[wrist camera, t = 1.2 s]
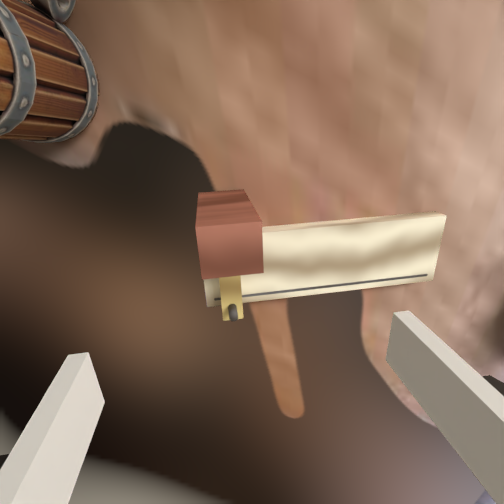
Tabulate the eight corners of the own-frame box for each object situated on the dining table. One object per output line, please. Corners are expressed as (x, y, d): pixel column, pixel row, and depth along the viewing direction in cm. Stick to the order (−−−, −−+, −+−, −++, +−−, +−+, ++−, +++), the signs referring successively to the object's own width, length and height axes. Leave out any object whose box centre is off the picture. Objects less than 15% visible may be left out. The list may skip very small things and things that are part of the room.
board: (198, 232, 35) (198, 238, 33) (435, 211, 39) (447, 215, 37) (206, 298, 39) (207, 307, 37) (422, 273, 42) (432, 280, 40)
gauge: (198, 192, 33) (195, 227, 22) (243, 189, 34) (262, 221, 23) (211, 303, 39) (213, 374, 28) (249, 299, 40) (267, 366, 29)
